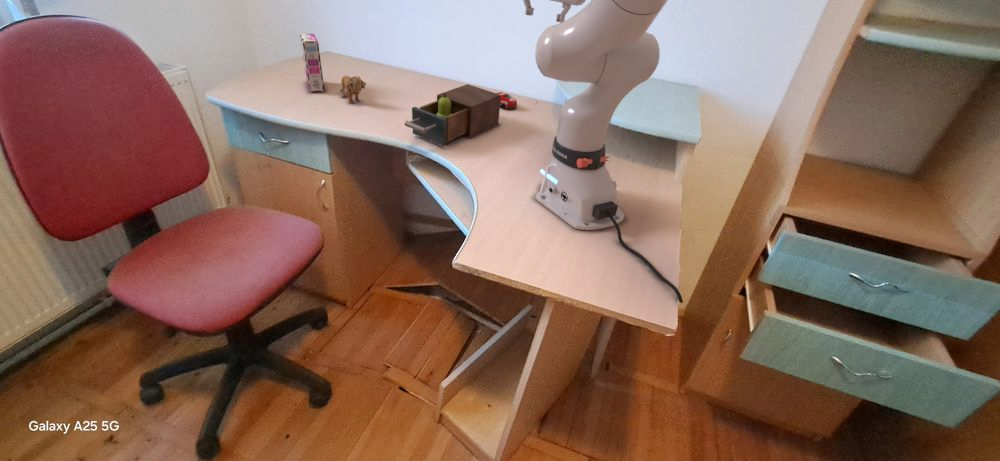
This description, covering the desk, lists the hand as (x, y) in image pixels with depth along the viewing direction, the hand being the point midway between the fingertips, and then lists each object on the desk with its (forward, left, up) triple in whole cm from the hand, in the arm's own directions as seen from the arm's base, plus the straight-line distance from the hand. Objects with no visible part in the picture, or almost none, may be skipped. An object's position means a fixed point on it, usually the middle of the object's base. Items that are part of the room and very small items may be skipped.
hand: (544, 18), depth 118 cm
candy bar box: (+57, +54, -34) cm, 86 cm away
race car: (+28, -3, -34) cm, 44 cm away
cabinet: (+14, +14, -34) cm, 39 cm away
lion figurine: (+43, +44, -34) cm, 70 cm away
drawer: (+7, +27, -33) cm, 43 cm away
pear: (+8, +24, -32) cm, 41 cm away
